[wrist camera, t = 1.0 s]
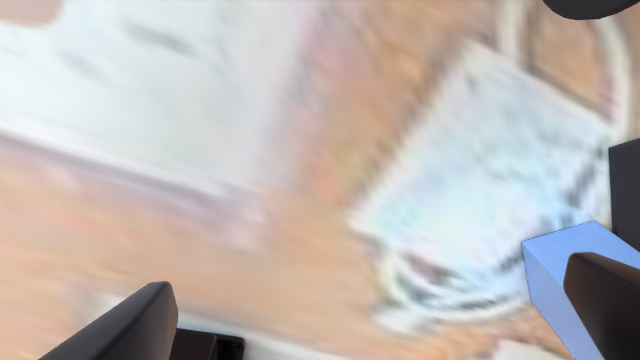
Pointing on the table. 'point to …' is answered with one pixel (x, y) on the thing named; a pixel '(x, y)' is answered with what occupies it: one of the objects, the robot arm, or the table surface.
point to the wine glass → (588, 8)
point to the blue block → (548, 274)
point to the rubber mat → (626, 191)
